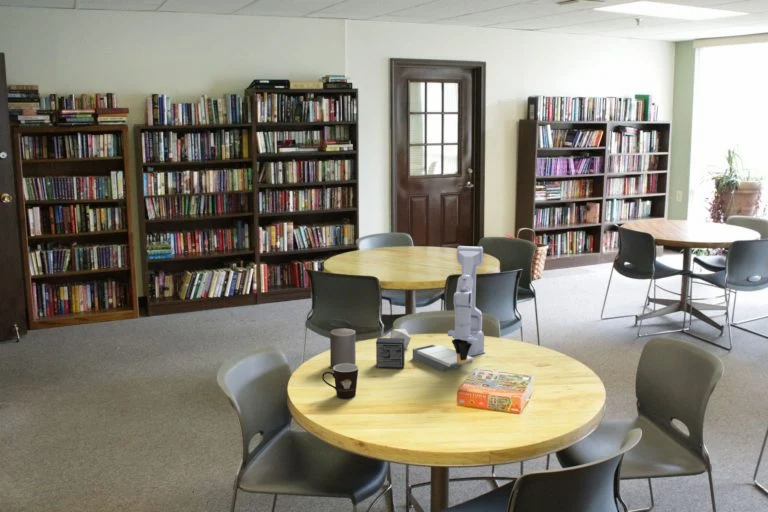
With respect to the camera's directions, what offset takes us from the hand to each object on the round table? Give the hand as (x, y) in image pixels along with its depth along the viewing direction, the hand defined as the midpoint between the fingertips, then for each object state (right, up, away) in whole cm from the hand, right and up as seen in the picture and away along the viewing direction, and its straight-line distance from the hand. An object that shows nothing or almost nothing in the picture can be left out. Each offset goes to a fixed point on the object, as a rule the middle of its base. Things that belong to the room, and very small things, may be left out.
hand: (461, 359), depth 279 cm
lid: (-5, 0, +8) cm, 10 cm away
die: (-22, 0, +31) cm, 38 cm away
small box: (-26, -4, +9) cm, 28 cm away
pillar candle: (-44, -4, +9) cm, 45 cm away
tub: (-8, -3, +13) cm, 16 cm away
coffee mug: (-43, -10, -21) cm, 49 cm away
